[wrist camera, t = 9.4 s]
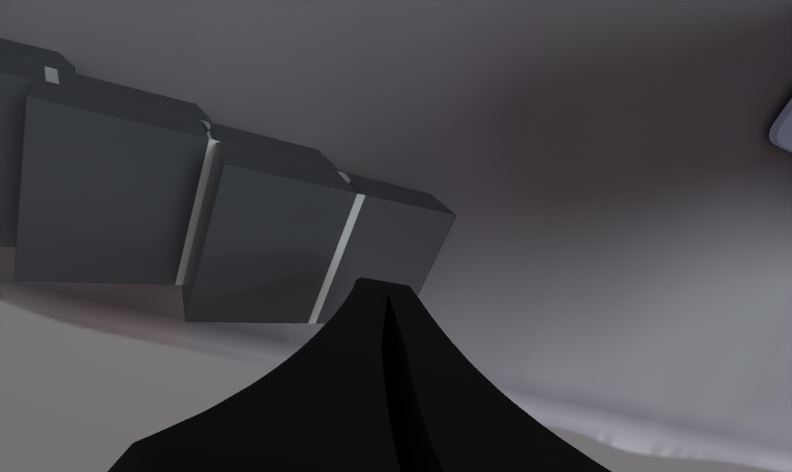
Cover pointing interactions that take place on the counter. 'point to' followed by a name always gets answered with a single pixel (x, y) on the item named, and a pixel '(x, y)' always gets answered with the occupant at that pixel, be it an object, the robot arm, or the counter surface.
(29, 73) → the domino
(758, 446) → the counter surface
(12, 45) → the domino
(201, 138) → the domino
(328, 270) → the domino
